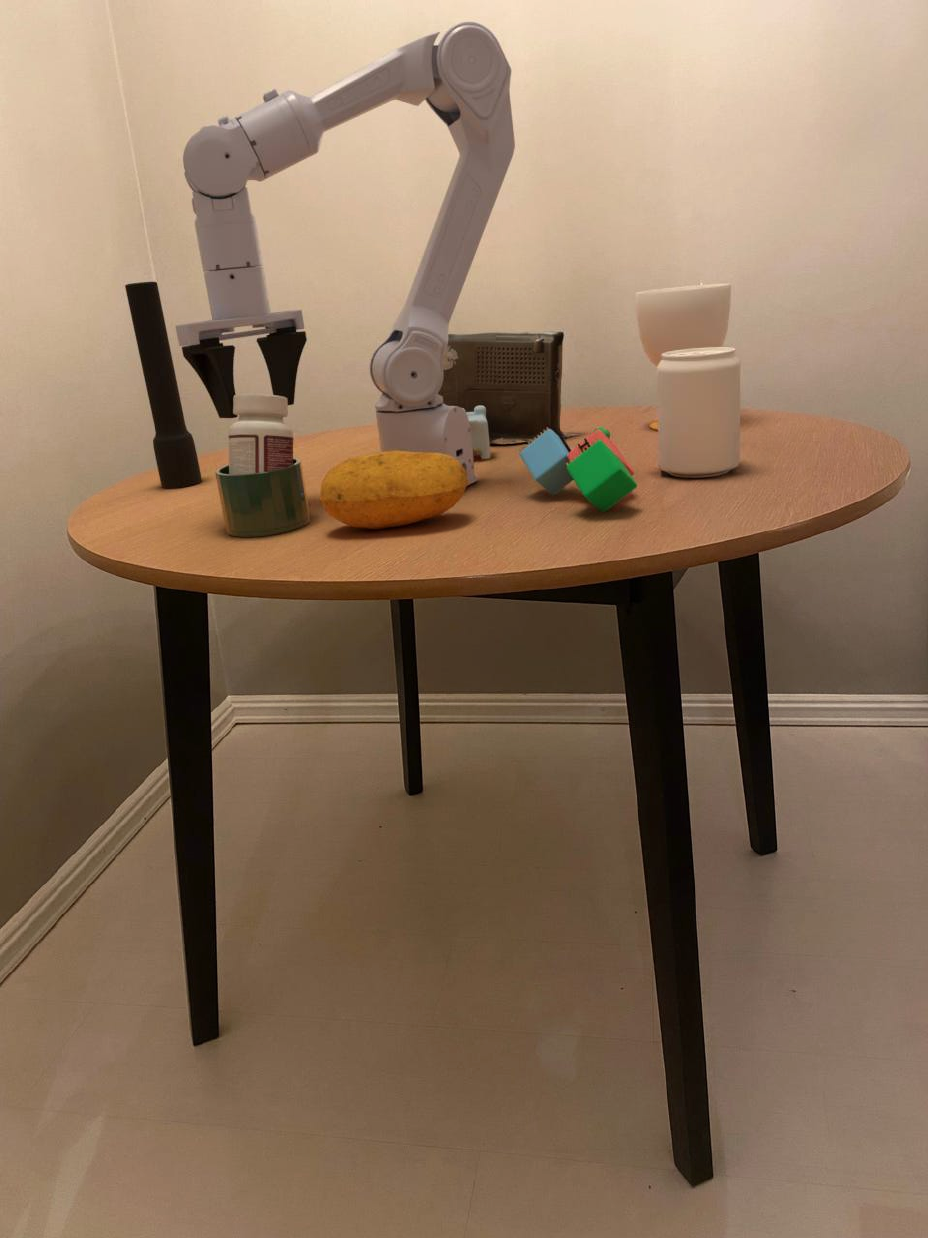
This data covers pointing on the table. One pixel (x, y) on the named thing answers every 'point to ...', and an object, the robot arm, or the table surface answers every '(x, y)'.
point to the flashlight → (162, 389)
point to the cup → (682, 319)
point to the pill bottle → (259, 434)
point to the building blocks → (580, 466)
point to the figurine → (479, 431)
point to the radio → (507, 381)
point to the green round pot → (263, 501)
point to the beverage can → (699, 411)
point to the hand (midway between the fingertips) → (257, 411)
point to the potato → (392, 488)
